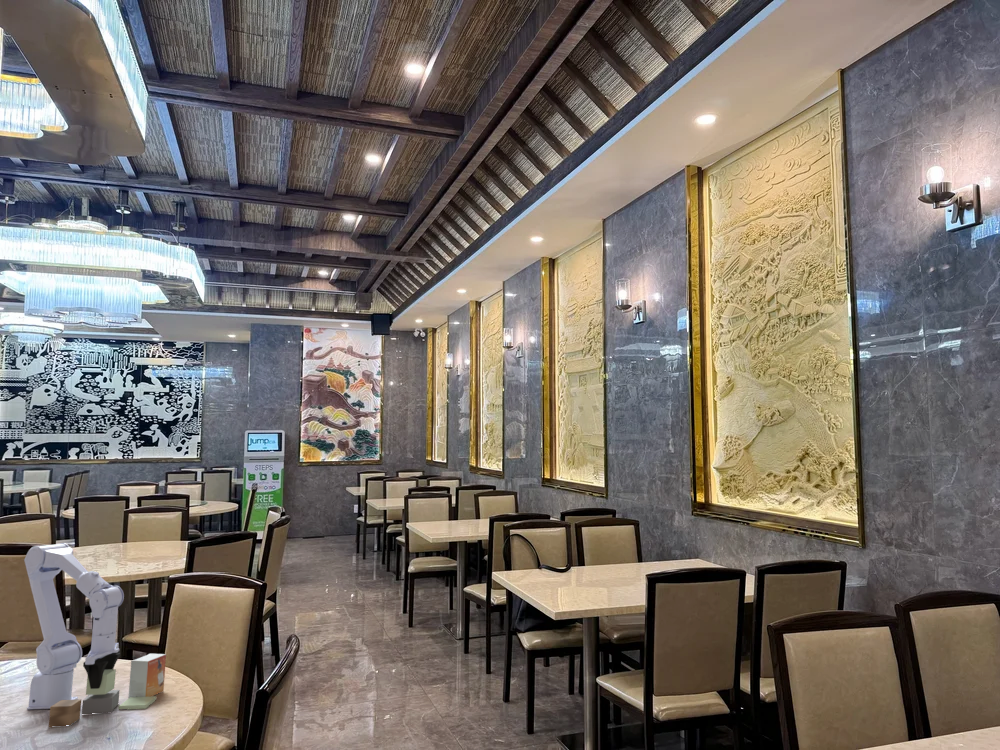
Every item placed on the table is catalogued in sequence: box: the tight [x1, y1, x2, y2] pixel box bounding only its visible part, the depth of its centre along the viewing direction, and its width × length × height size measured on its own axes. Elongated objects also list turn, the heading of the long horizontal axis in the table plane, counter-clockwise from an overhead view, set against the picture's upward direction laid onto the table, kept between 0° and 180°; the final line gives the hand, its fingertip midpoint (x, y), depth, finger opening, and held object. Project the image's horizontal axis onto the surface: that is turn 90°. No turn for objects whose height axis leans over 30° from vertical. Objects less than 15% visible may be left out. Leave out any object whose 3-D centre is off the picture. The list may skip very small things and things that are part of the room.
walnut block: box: [48, 698, 82, 728], centre depth 170 cm, size 5×5×5 cm
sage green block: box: [85, 668, 117, 696], centre depth 180 cm, size 5×5×5 cm
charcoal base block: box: [81, 689, 120, 715], centre depth 180 cm, size 7×7×4 cm
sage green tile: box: [118, 695, 157, 710], centre depth 183 cm, size 7×7×1 cm
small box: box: [127, 653, 167, 699], centre depth 192 cm, size 8×6×10 cm
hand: (100, 685), depth 180 cm, fingers closed on sage green block, 5 cm apart
